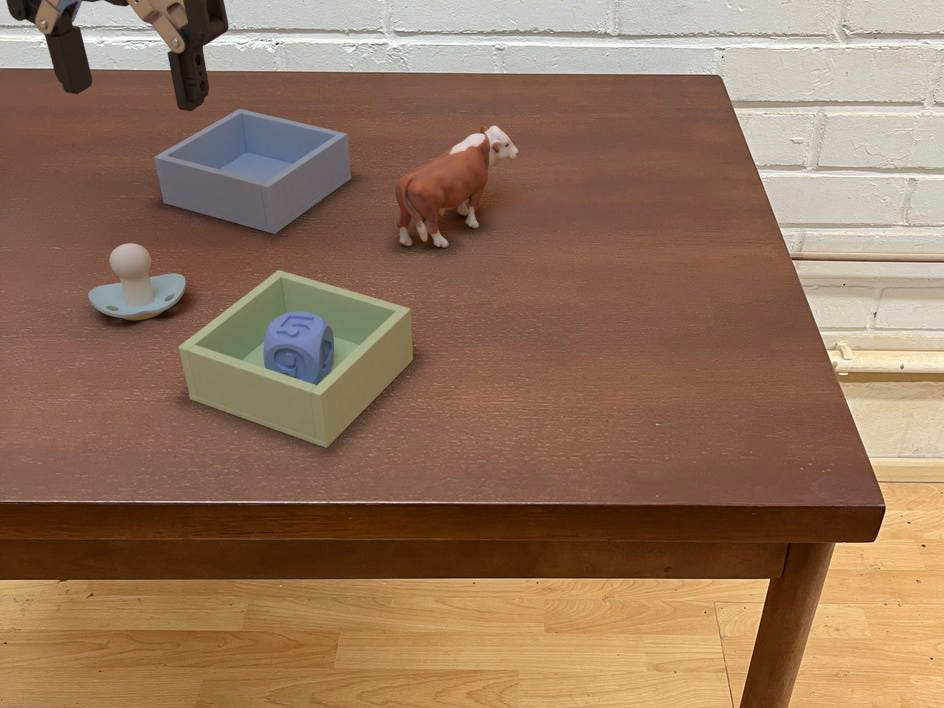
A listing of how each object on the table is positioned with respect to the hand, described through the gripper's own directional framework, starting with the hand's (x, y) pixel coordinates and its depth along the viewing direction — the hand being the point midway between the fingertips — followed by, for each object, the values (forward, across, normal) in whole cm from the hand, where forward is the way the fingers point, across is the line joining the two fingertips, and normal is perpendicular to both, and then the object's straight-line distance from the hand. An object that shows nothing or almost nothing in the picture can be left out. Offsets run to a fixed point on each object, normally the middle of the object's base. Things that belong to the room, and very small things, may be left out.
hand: (134, 98), depth 66 cm
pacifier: (+18, +5, -2) cm, 19 cm away
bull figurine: (+18, -14, -22) cm, 32 cm away
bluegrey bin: (+18, +6, -23) cm, 30 cm away
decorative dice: (+18, -12, +3) cm, 21 cm away
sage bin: (+18, -12, +3) cm, 22 cm away
